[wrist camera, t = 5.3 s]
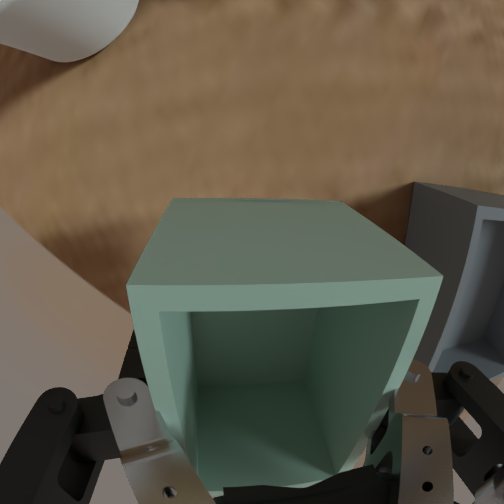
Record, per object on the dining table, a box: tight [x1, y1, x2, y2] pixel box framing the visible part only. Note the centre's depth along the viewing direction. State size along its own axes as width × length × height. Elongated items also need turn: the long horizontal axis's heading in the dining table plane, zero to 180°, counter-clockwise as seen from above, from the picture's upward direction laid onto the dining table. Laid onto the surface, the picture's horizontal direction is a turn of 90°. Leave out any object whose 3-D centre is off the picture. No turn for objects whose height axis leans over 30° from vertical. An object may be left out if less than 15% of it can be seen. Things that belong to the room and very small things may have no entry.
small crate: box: [126, 198, 443, 496], centre depth 9 cm, size 9×6×6 cm, turn 178°
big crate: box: [404, 182, 504, 382], centre depth 21 cm, size 18×17×7 cm
